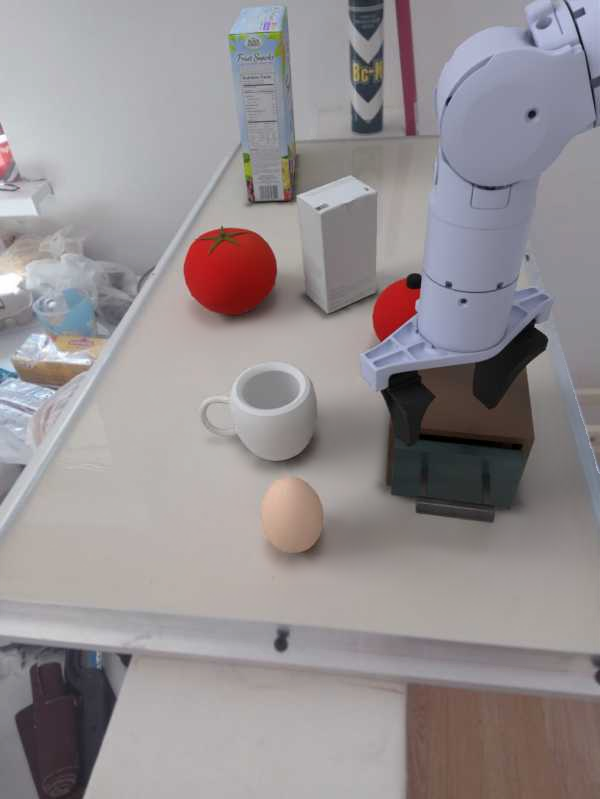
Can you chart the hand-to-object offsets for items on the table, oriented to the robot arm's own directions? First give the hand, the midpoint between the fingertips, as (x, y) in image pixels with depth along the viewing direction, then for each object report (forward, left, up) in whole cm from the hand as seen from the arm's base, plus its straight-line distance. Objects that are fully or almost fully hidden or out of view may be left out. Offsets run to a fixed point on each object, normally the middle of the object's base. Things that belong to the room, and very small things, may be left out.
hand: (445, 418), depth 43 cm
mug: (+18, -5, -11) cm, 21 cm away
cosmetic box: (+14, -32, -11) cm, 36 cm away
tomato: (+28, -29, -11) cm, 41 cm away
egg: (+12, +6, -11) cm, 17 cm away
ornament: (+4, -22, -11) cm, 25 cm away
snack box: (+32, -69, -11) cm, 77 cm away
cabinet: (-1, -8, -11) cm, 13 cm away
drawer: (-1, -3, -10) cm, 10 cm away
